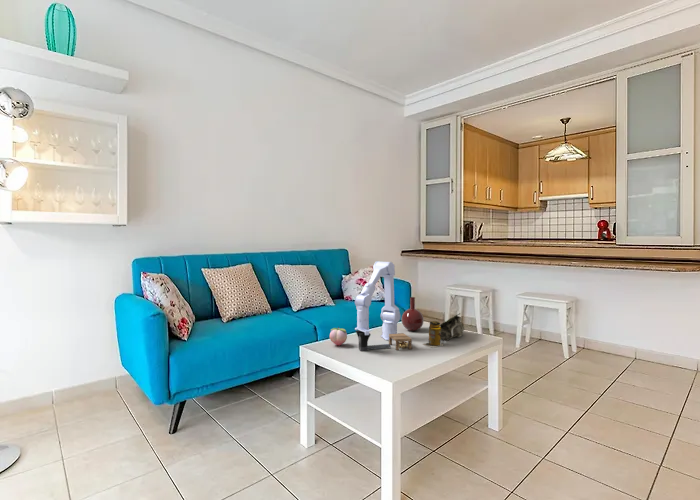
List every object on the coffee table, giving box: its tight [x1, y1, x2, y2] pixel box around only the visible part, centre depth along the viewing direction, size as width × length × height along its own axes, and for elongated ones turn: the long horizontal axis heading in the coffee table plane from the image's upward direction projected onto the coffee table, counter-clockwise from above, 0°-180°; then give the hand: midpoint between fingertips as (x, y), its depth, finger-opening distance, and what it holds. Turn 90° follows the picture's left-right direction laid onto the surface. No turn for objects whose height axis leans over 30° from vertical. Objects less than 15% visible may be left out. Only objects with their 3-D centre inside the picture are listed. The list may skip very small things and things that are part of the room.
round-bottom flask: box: [401, 296, 425, 332], centre depth 231 cm, size 13×13×20 cm
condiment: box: [423, 320, 444, 349], centre depth 201 cm, size 7×8×12 cm
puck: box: [399, 341, 408, 349], centre depth 198 cm, size 5×5×2 cm
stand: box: [388, 332, 413, 351], centre depth 198 cm, size 11×8×5 cm
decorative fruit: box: [329, 326, 348, 346], centre depth 200 cm, size 9×8×10 cm
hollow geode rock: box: [440, 313, 466, 342], centre depth 215 cm, size 28×13×15 cm
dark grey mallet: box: [358, 336, 392, 352], centre depth 194 cm, size 4×16×7 cm, turn 105°
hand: (363, 345), depth 192 cm, fingers closed on dark grey mallet, 4 cm apart
